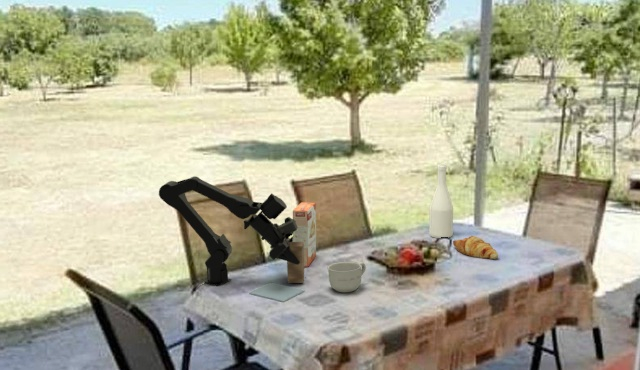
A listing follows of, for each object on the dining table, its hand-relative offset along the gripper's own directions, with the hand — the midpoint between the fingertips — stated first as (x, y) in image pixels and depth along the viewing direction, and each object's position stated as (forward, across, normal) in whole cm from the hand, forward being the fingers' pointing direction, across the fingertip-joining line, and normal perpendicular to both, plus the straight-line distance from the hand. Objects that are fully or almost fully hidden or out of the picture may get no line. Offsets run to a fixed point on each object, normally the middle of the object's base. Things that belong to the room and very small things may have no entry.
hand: (299, 261), depth 217 cm
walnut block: (+4, 0, +6) cm, 7 cm away
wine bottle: (+42, +59, -32) cm, 79 cm away
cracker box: (+5, +23, +6) cm, 25 cm away
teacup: (+17, -5, -6) cm, 19 cm away
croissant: (+49, +34, -38) cm, 71 cm away
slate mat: (+1, -10, +10) cm, 14 cm away
